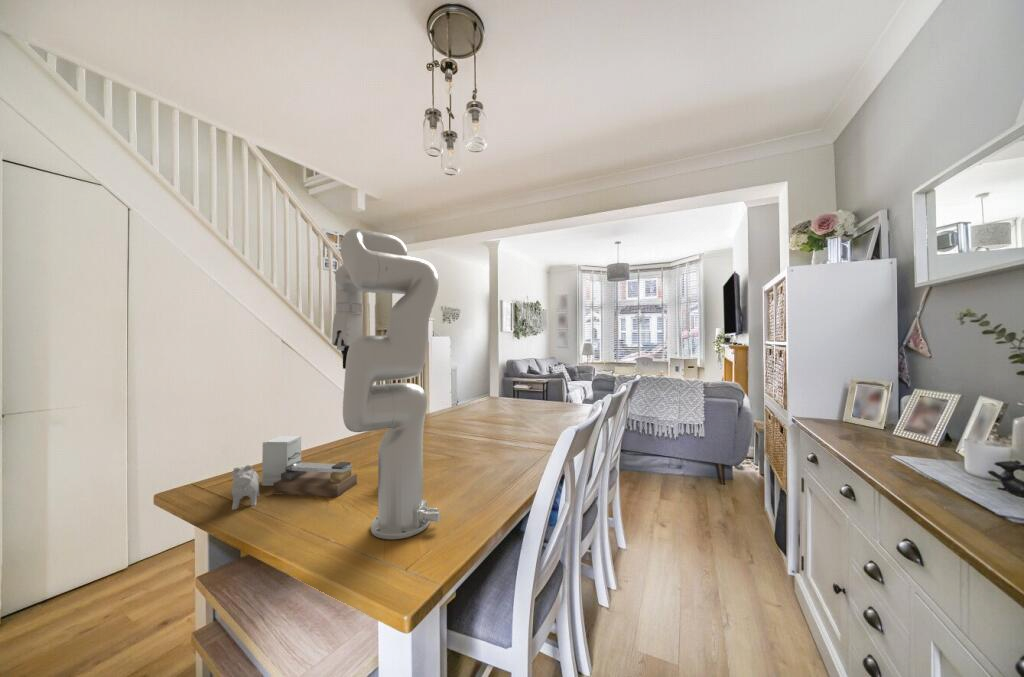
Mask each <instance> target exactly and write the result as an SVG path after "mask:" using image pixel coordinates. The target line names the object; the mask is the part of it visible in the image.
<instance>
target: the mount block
mask: <svg viewBox="0 0 1024 677" xmlns="http://www.w3.org/2000/svg"><path fill="white" fill-rule="evenodd" d="M357 477H358V473H356V472H352V468H351V469H349V470H348V471H346V472H344V473H332V472H310V471H289V472H287V471H285V472H283V473H281V479H280V480H278V481H276V482H273V487H272V488H273V489H272V490H273V492H272V494H273V493H282V494H281V495H292V494H301V495H300V496H312V495H316V497H332V498H333V497H335V498H337V497H340V496H341V495H343V494H344V493H346V492H347V491H349V490H350V489H351V488H353V487H354V486H356V485H357V484H358V478H357Z"/></svg>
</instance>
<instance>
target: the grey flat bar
mask: <svg viewBox="0 0 1024 677" xmlns="http://www.w3.org/2000/svg"><path fill="white" fill-rule="evenodd" d="M352 467H353V465H352V464H351V462H350V461H349V462H348V461H340V462H338V463H327V462H326V463H324V462H305V461H304V462H302V460H301V461H298V462H295V463H293V464H291V465H289V466H286V468H285V470H286V471H287V472H289V471H310V472H332V473H344V472H346V471H348V470H349V469H351V470H352Z"/></svg>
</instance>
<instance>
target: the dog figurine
mask: <svg viewBox="0 0 1024 677" xmlns="http://www.w3.org/2000/svg"><path fill="white" fill-rule="evenodd" d="M231 478H232V481H233V482H232V486H231V489H230V491H231V495H232V506H231V510H232V511H234V509H235V510H237V508H238V509H239V505H240V502H241V500H243V499H244V497H248V498H249V500H250V506H251V507H254V505H255V506H257V505H258V504H257V497H260V475H259V473H257V471H255V470H254V469H253V466H252V465H251V464H247V465H245V466H242V467H237V466H236V467H234V468H233V470H232V477H231ZM240 499H241V500H240Z"/></svg>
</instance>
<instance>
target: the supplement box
mask: <svg viewBox="0 0 1024 677" xmlns="http://www.w3.org/2000/svg"><path fill="white" fill-rule="evenodd" d="M261 458H262V460H261V462H262V465H261V466H262V469H261V470H262V471H261V476H262V477H261V486H264V487H265V486H268V487H270V486H271V487H272V486H273V482H276V481H278V480H280V479H281V473H283V472H285V471H286V470H285V468H286V466H289V465H291V464H293V463H295V462H298V461H301V462H302V436H301V435H297V436H295V435H286V436H285V435H284V436H277V437H274V438H271V439H269V440H266V441H263V442H262V457H261Z"/></svg>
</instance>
